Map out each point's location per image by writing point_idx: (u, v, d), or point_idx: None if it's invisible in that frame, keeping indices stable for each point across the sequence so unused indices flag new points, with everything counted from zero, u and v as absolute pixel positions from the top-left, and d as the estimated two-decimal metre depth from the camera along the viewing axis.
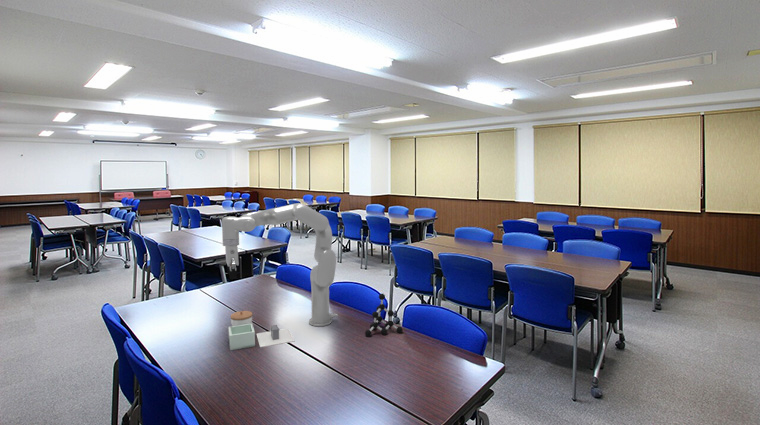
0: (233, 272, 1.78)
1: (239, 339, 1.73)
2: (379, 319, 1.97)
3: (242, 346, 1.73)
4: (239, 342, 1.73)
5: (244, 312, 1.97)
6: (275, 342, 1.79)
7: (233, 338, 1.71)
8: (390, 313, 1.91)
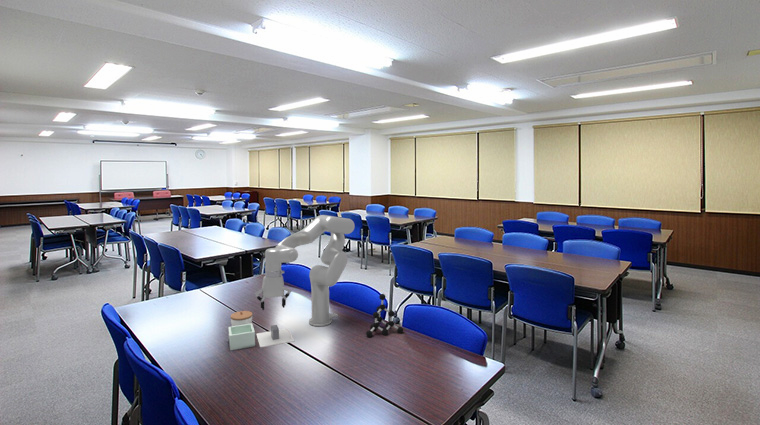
0: None
1: (239, 339, 1.73)
2: (379, 319, 1.97)
3: (242, 346, 1.73)
4: (239, 342, 1.73)
5: (244, 312, 1.97)
6: (275, 342, 1.79)
7: (233, 338, 1.71)
8: (391, 313, 1.91)
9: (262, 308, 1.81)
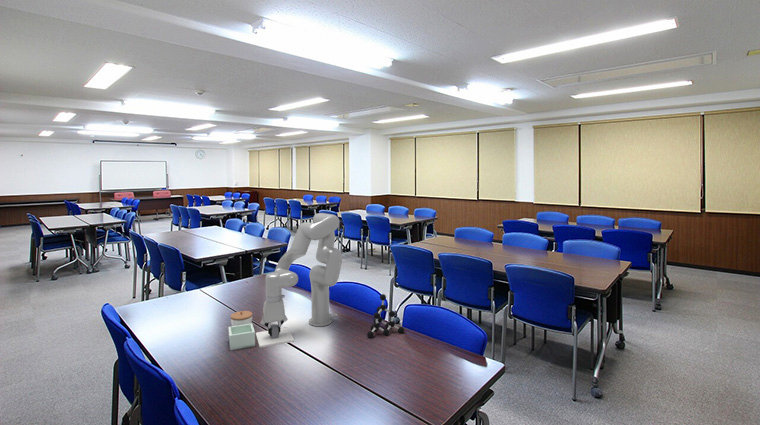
0: None
1: (239, 339, 1.73)
2: (379, 320, 1.96)
3: (242, 346, 1.73)
4: (239, 342, 1.73)
5: (244, 312, 1.97)
6: (274, 341, 1.79)
7: (233, 338, 1.71)
8: (391, 313, 1.91)
9: (270, 334, 1.83)
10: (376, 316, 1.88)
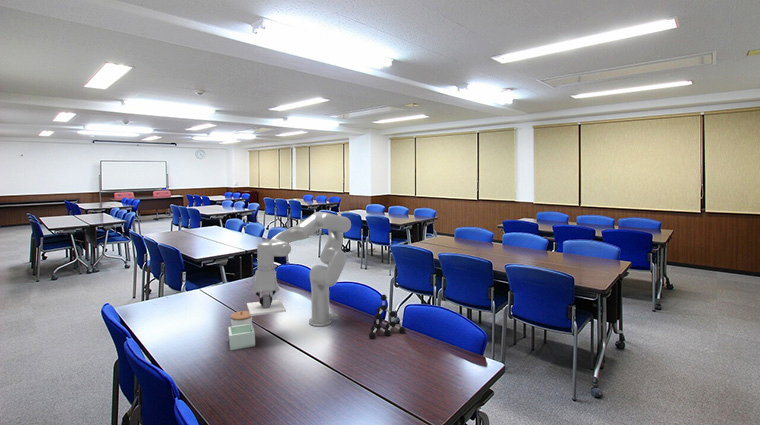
0: (271, 297, 1.82)
1: (239, 339, 1.73)
2: (380, 320, 1.96)
3: (242, 346, 1.73)
4: (239, 342, 1.73)
5: (244, 312, 1.97)
6: (266, 310, 1.76)
7: (233, 338, 1.71)
8: (392, 314, 1.90)
9: (261, 304, 1.80)
10: (377, 317, 1.87)
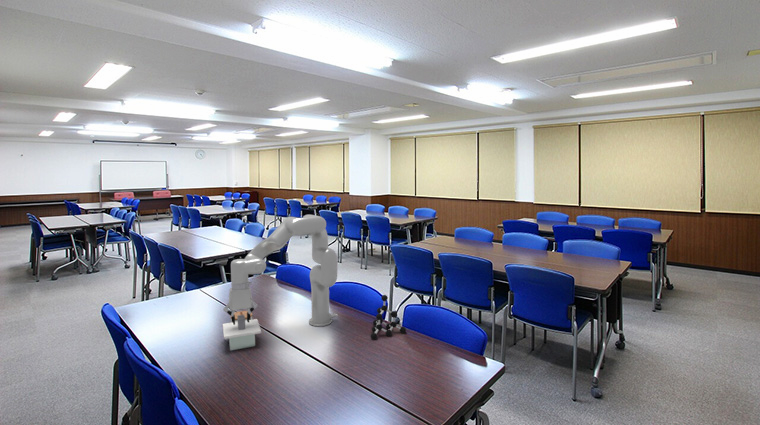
0: None
1: (239, 339, 1.73)
2: (380, 321, 1.95)
3: (242, 346, 1.73)
4: (239, 342, 1.73)
5: (244, 312, 1.97)
6: (240, 332, 1.72)
7: (233, 338, 1.71)
8: (393, 314, 1.90)
9: (233, 322, 1.76)
10: (379, 317, 1.86)
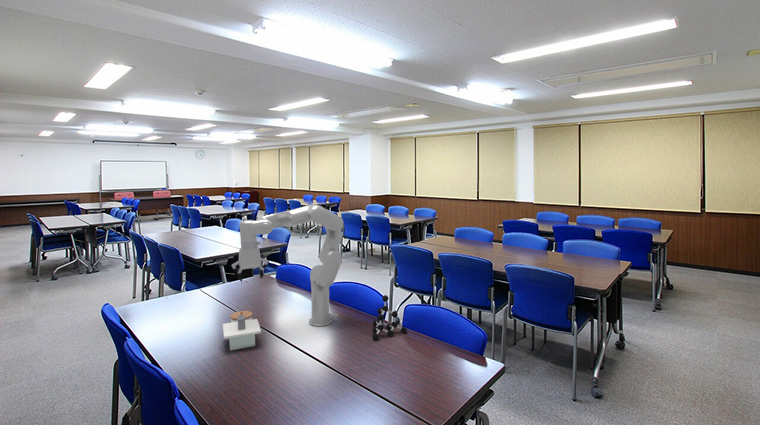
0: None
1: (239, 339, 1.73)
2: None
3: (242, 346, 1.73)
4: (239, 342, 1.73)
5: (244, 312, 1.97)
6: (240, 332, 1.72)
7: (233, 338, 1.71)
8: (395, 314, 1.90)
9: (240, 279, 1.83)
10: (380, 318, 1.85)
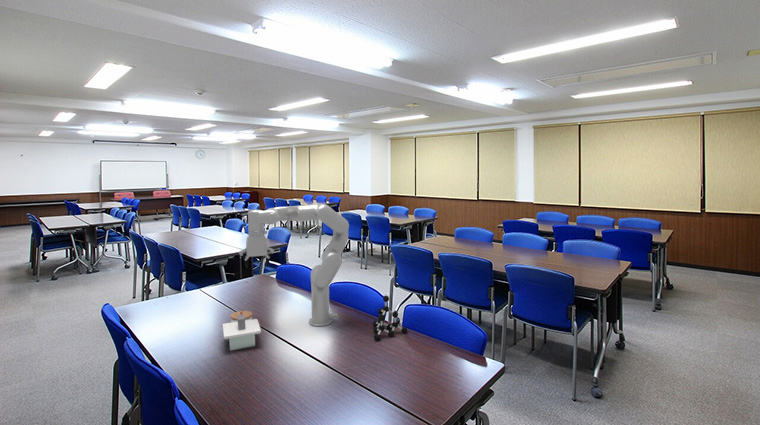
0: (268, 259, 1.94)
1: (239, 339, 1.73)
2: None
3: (242, 346, 1.73)
4: (239, 342, 1.73)
5: (244, 312, 1.97)
6: (240, 332, 1.72)
7: (233, 338, 1.71)
8: (395, 314, 1.90)
9: (246, 266, 1.89)
10: (382, 318, 1.85)
